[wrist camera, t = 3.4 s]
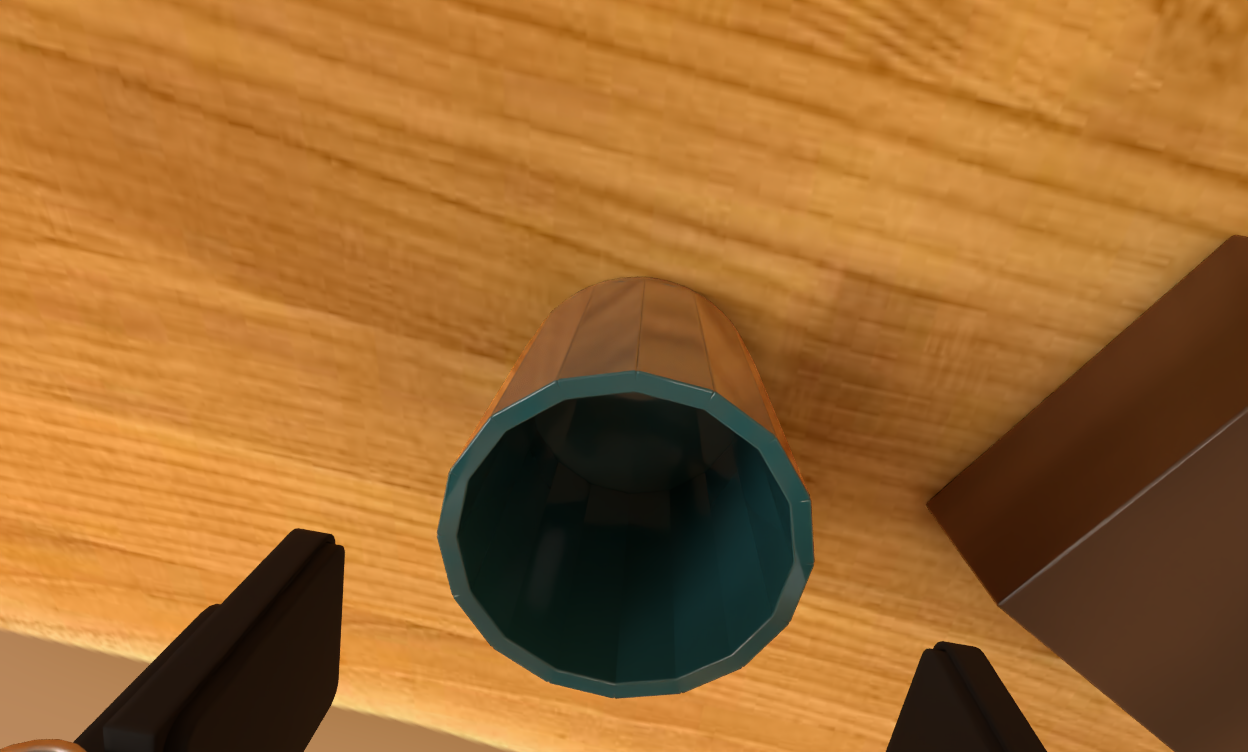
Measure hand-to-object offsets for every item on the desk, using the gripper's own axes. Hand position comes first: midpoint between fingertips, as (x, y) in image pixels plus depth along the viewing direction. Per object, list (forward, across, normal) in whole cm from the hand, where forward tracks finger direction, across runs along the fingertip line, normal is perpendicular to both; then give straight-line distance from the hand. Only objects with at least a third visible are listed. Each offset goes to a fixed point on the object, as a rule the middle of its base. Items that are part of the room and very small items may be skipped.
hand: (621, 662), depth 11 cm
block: (+11, -17, -1) cm, 20 cm away
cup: (+11, 0, -1) cm, 11 cm away
